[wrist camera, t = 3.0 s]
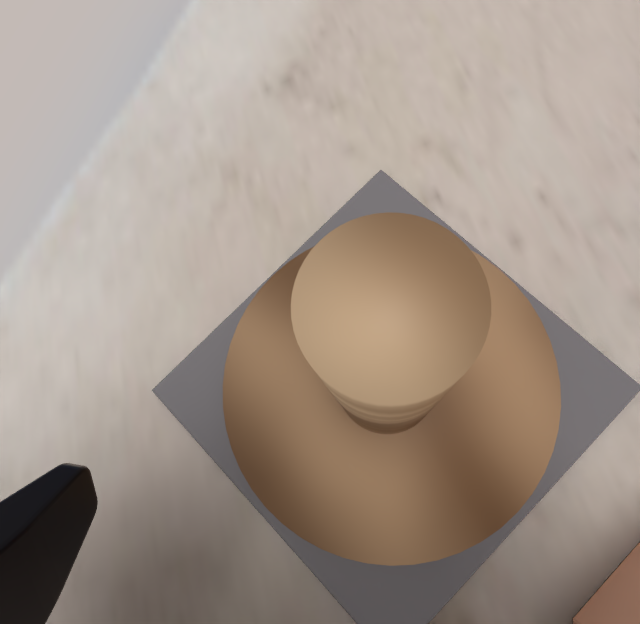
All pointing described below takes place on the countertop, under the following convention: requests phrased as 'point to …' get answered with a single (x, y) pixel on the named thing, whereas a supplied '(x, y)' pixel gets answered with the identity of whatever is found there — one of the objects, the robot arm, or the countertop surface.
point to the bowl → (616, 596)
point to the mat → (431, 577)
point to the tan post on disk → (391, 393)
